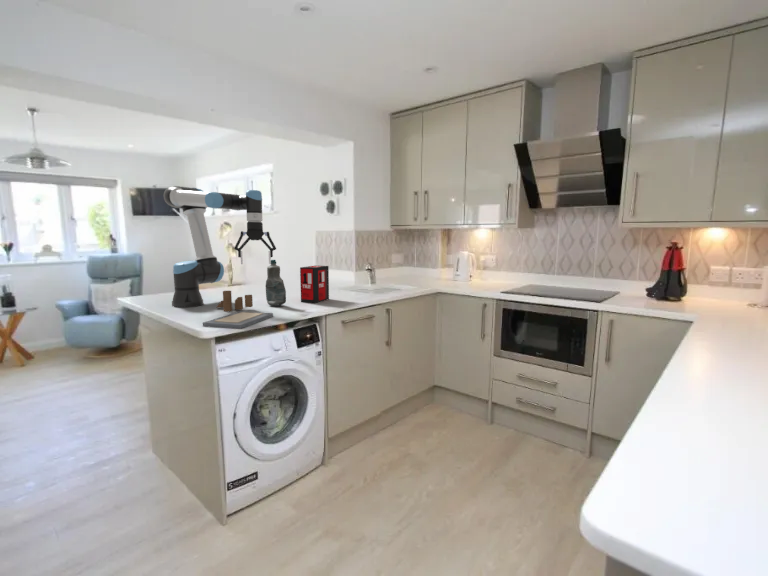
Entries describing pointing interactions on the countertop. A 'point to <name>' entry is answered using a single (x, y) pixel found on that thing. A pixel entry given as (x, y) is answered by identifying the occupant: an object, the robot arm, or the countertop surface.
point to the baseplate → (238, 319)
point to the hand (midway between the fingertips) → (255, 263)
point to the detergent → (275, 285)
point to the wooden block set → (238, 302)
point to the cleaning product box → (314, 284)
